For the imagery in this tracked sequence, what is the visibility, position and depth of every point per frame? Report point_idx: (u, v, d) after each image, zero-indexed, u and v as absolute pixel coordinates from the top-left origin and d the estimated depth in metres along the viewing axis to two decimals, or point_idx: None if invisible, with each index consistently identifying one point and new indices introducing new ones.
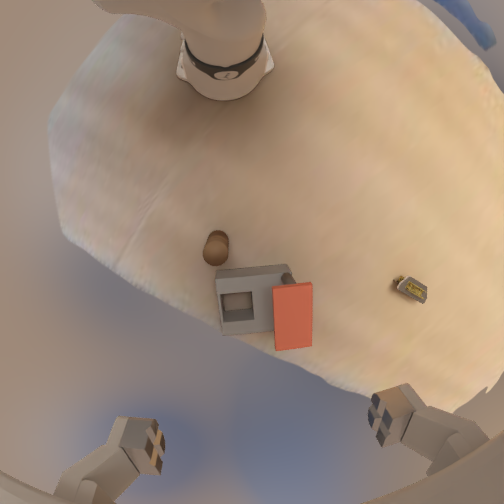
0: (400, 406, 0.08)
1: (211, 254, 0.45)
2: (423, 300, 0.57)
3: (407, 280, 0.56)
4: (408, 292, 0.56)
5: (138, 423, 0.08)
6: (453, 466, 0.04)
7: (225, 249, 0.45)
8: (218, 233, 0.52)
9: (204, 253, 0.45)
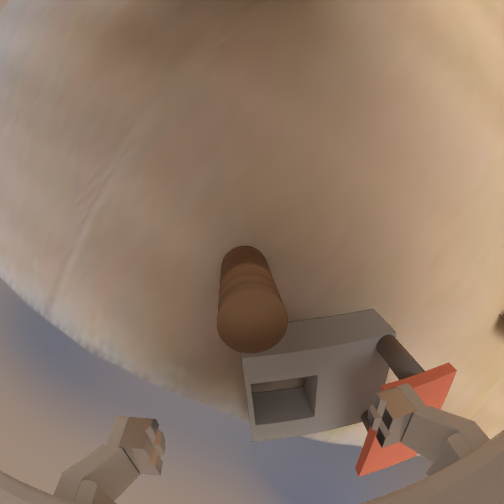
0: (400, 406, 0.08)
1: (241, 325, 0.16)
2: None
3: None
4: None
5: (138, 423, 0.08)
6: (453, 466, 0.04)
7: (281, 312, 0.16)
8: (249, 256, 0.22)
9: (221, 323, 0.16)
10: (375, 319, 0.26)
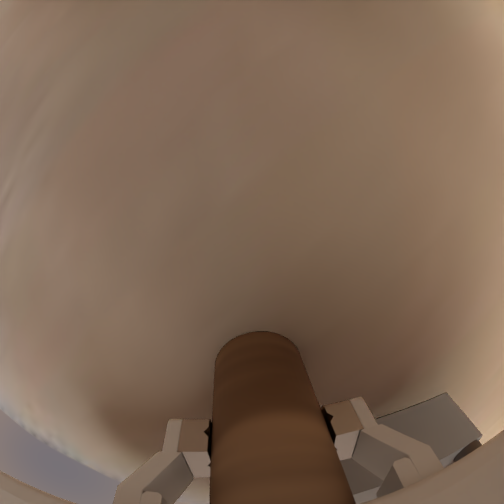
0: (347, 422, 0.08)
1: None
2: None
3: None
4: None
5: (193, 425, 0.08)
6: (453, 466, 0.04)
7: None
8: (274, 376, 0.09)
9: None
10: (452, 413, 0.13)
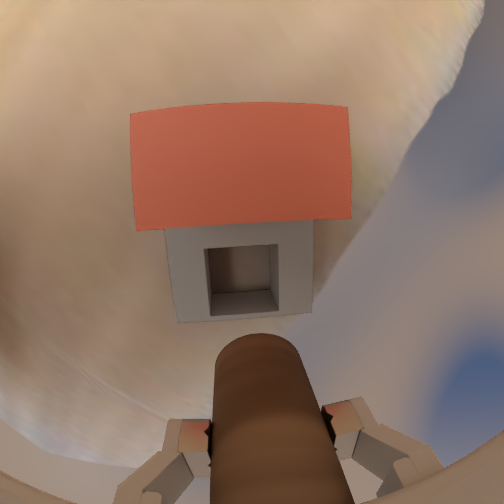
0: (347, 422, 0.08)
1: None
2: None
3: None
4: None
5: (193, 425, 0.08)
6: (453, 466, 0.04)
7: None
8: (274, 378, 0.09)
9: None
10: None
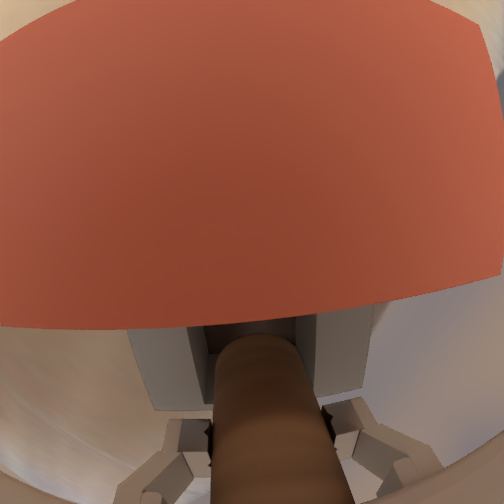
0: (347, 422, 0.08)
1: None
2: None
3: None
4: None
5: (193, 425, 0.08)
6: (453, 466, 0.04)
7: None
8: (275, 378, 0.09)
9: None
10: None
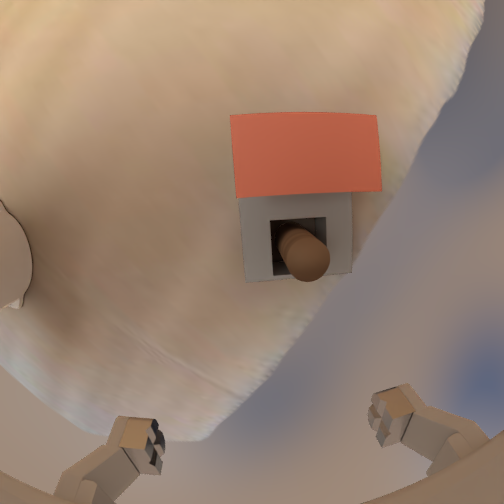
0: (400, 406, 0.08)
1: (302, 260, 0.25)
2: None
3: None
4: None
5: (138, 423, 0.08)
6: (453, 466, 0.04)
7: (326, 252, 0.25)
8: (297, 226, 0.32)
9: (289, 259, 0.25)
10: None
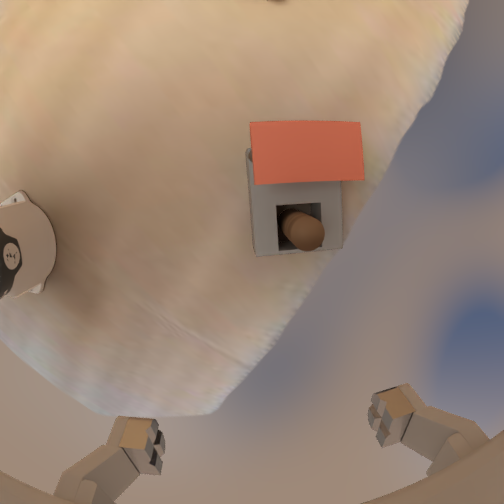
0: (400, 406, 0.08)
1: (302, 234, 0.32)
2: None
3: None
4: None
5: (138, 423, 0.08)
6: (453, 466, 0.04)
7: (321, 228, 0.32)
8: (297, 210, 0.38)
9: (293, 233, 0.32)
10: (246, 156, 0.37)
